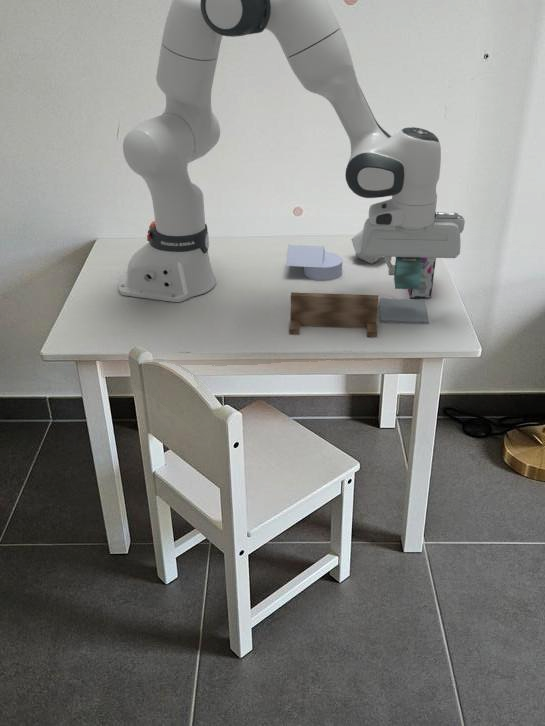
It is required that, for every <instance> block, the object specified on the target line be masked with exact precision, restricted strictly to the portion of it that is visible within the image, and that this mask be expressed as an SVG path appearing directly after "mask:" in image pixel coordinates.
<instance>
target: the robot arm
mask: <svg viewBox="0 0 545 726" xmlns="http://www.w3.org/2000/svg"><path fill="white" fill-rule="evenodd" d="M265 30H268V31H269V32H271V33H272V34H273V35H274V37H275V38H276V40H277V41H278V43H279V46H280V48H281V50H282V51H283V52H282V53H283V54H284V55H285V58H286V60H287V62H288V64H289V66H290V68H291V71H292V72H293V73H294V75H295V76H296V78H297V79H298V82H299V83H300V84H301V86H302V87H303V88H304V89H305V90H306V91H308V92H309V93H313V94H317V95H319V96H321V97H323V98H325V99H326V100H327V101H328V102H329V103H330V104H331V106H332V107H333V109H334V111H335V114H337V115H336V116H337V117H338V119H339V121H340V123H341V125H342V127H343V129H344V131H345V132H346V134H347V136H348V139H349V143H350V156H349V159H348V163H347V165H346V168H345V181H346V185H347V187H348V188H349V189H350V190H351V191H352V193H354V194H355V195H356V196H358V197H361V198H365V199H377V198H385V197H387V198H388V197H391V198H390V199H388V200H387V199H386V200H384V201H380V202H379V201H378V202H376V203H373V204H371V205H369V209H368V217H367V219H366V220H365V221H364V224H363V228H362V230H363V232H362V238H361V253H362V254H363V255H364V256H382V257H384V263H385V264H386V267H387V268H388V272H387V274H388V276H394V275H396V265H395V264H392V258H394V257H395V258H396V257H423V258H426V259H427V261H426V263H425V264H424V266H422V268H421V276H427V269H429V267H430V266H431V265H432V264H433V262H434V258H436V259H456V258H458V256H459V255H460V254H461V233H463V231H464V228H465V218H464V217H463V216H462V215H460V214H459V213H457V212H438V211H437V212H436V210H437V201H438V193H437V184H438V181H439V180H440V173H441V165H442V163H441V161H442V151H441V150H442V148H441V147H442V146H441V143H440V140H439V138H438V136H436V134H435V133H433V132H432V131H429V130H427V129H424V128H420V127H415V126H414V127H413V126H412V127H404V128H402V129H401V130H399V131H398V132H397V133H396V134H394V135H391V134H390V133H388V131H386V130H385V129H384V128H383V127H381V125H380V124H379V122H378V121H377V119H376V118H375V116H374V113H373V112H372V109H371V108H370V105H369V104H368V102H367V99H366V97H365V94H364V93H363V90H362V88H361V86H360V84H359V82H358V78H357V75H356V71H355V67H354V64H353V63H354V62H353V60H352V55H351V53H350V49H349V45H348V43H347V39H346V37H345V35H344V33H343V32H344V31H342V28H341V25H340V23H339V22H338V18H337V17H336V15H335V13H334V11H333V10H332V7H331V6H330V4H329V2H328V0H172V1H171V5H170V7H169V10H168V12H167V16H166V20H165V23H164V28H163V31H162V39H161V46H160V51H159V56H158V57H159V58H158V64H157V69H156V70H157V71H156V75H155V76H156V77H155V78H156V79H155V80H156V83H157V86H158V88H159V89H160V90H161V92H163V94H164V95H165V104H166V105H165V108H164V110H163V112H162V114H161V115H158V116H154V117H153V118H149V119H147V120H144V121H142V122H140V123H139V124H137V125H136V126H135V127H134V128H132V129H131V130H130V131H128V133H126V135H125V137H124V139H123V143H122V153H123V157H124V160H125V162H126V163H127V166H128V167H129V168H130V169H131V170H132V171H133V172H134V173H135V174H136V175H139V176H140V177H141V178H142V179H143V181H144V182H145V183H146V185H147V188H148V191H149V194H150V196H151V200H152V201H151V202H152V207H153V213H154V214H153V215H154V221H152V222H151V223H150V224H149V227H148V228H149V229H148V230H147V235H146V241H147V243H146V244H144V245H143V246H142V247H141V248H139V249H138V250H137V251H136V252H135V253H133V255H132V256H131V258H130V259H129V261H128V264H127V269H126V270H127V271H125V272H124V274H123V275H122V276H121V278H120V279H119V281H118V287H117V288H118V293H119V294H120V295H121V296H127V297H135V298H142V299H149V300H159V301H165V302H171V303H181V302H184V301H186V300H188V299H190V298H193V297H196V296H201V295H202V294H206V293H207V292H209V291H211V290H212V289H214V287H215V286H216V283H217V281H216V278H215V274H214V272H213V269H212V266H211V265H212V264H211V261H210V256H209V249H210V244H209V243H210V240H209V239H210V238H209V231H208V226H207V223H206V220H205V219H206V217H205V202H204V194H203V191H202V189H201V188H200V187H199V186H197V185H196V184H194V183H193V182H192V181H191V178H190V176H189V171H188V165H189V163H192V162H193V161H195V160H198V159H201V158H202V157H204V156H206V154H208V153H209V152H210V151H212V149H213V148H214V147H215V146H216V145H217V144H218V142H219V139H220V136H221V127H220V123H219V120H218V118H217V116H216V115H215V113H214V112H213V109H212V91H213V90H212V88H213V84H214V77H215V73H216V68H217V63H218V58H219V53H220V49H221V43H222V39H223V36H224V37H230V38H231V37H235V38H236V37H244V36H247V35H248V36H249V35H254V34H255V35H256V34H260V33H262V32H264V31H265ZM382 257H381V258H382Z"/></svg>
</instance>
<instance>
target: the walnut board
mask: <svg viewBox="0 0 545 726" xmlns="http://www.w3.org/2000/svg"><path fill="white" fill-rule="evenodd" d="M379 296H380V295H379V294H355V293H354V294H353V293H351V294H350V293H349V294H348V293H323V292H322V293H320V292H292V291H291V292H290V321H289V331H288V332H289V333H288V334H289V335H300V329H301V327H302V326H303V327H323V328H325V327H328V328H329V327H331V328H354V329H355V328H357V329H359V328H360V329H366V337H367V338H378V312H379V302H380V297H379Z"/></svg>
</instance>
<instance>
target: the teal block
mask: <svg viewBox="0 0 545 726" xmlns="http://www.w3.org/2000/svg"><path fill="white" fill-rule="evenodd" d="M394 265H396V275H393V280H394V281H393V282H394V289H396V290H408V289H419V288H420V278H421V268H422V260H421V257H395V264H394Z"/></svg>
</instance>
